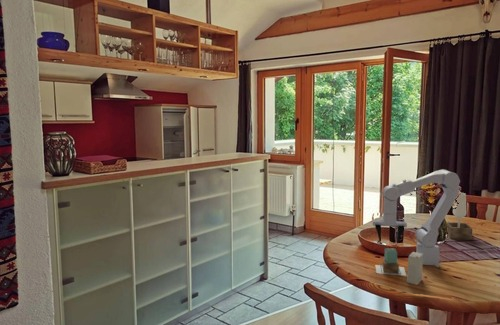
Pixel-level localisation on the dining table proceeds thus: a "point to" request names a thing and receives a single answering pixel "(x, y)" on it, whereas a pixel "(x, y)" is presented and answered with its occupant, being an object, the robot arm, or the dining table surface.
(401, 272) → the grey flat slab
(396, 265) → the walnut block
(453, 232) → the olive brown open box
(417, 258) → the skincare box
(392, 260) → the teal block
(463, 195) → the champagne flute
